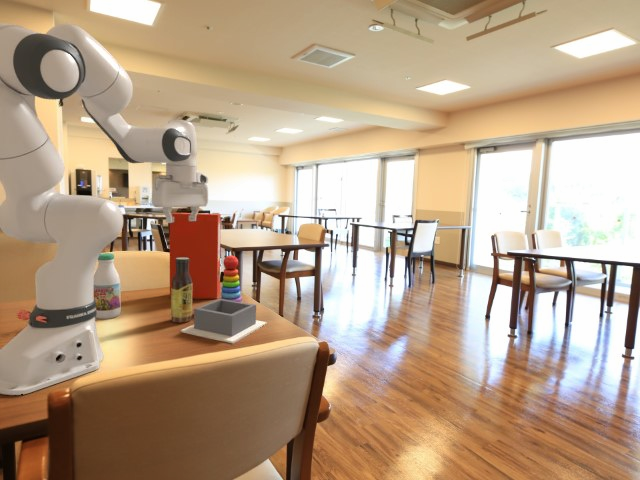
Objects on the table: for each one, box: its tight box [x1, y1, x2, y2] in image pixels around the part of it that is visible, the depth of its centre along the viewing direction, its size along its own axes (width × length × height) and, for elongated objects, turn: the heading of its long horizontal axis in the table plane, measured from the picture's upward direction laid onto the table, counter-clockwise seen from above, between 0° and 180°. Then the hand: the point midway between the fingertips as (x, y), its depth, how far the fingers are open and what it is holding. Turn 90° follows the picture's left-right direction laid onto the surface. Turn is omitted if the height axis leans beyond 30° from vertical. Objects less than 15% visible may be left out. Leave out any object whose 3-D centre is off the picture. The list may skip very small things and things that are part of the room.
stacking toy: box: [220, 255, 243, 302], centre depth 136 cm, size 8×8×19 cm
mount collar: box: [180, 298, 268, 345], centre depth 116 cm, size 18×18×7 cm
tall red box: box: [169, 212, 222, 300], centre depth 147 cm, size 8×17×32 cm, turn 97°
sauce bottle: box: [170, 258, 193, 324], centre depth 120 cm, size 6×6×20 cm
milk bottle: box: [94, 252, 122, 320], centre depth 122 cm, size 8×8×20 cm
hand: (181, 221), depth 118 cm, fingers open, 8 cm apart
